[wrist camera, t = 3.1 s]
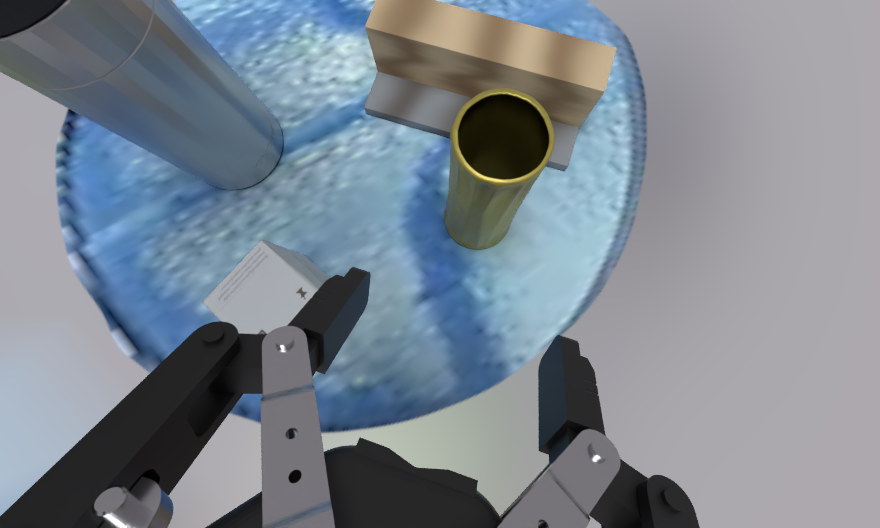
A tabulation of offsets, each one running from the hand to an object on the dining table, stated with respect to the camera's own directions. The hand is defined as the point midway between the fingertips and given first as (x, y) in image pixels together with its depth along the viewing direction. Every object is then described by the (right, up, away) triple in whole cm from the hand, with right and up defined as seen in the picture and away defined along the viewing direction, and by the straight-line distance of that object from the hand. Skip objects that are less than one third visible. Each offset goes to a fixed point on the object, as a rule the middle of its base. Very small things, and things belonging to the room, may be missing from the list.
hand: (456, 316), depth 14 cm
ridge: (+3, +20, +19) cm, 27 cm away
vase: (+3, +6, +17) cm, 18 cm away
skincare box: (-13, -1, +16) cm, 21 cm away
